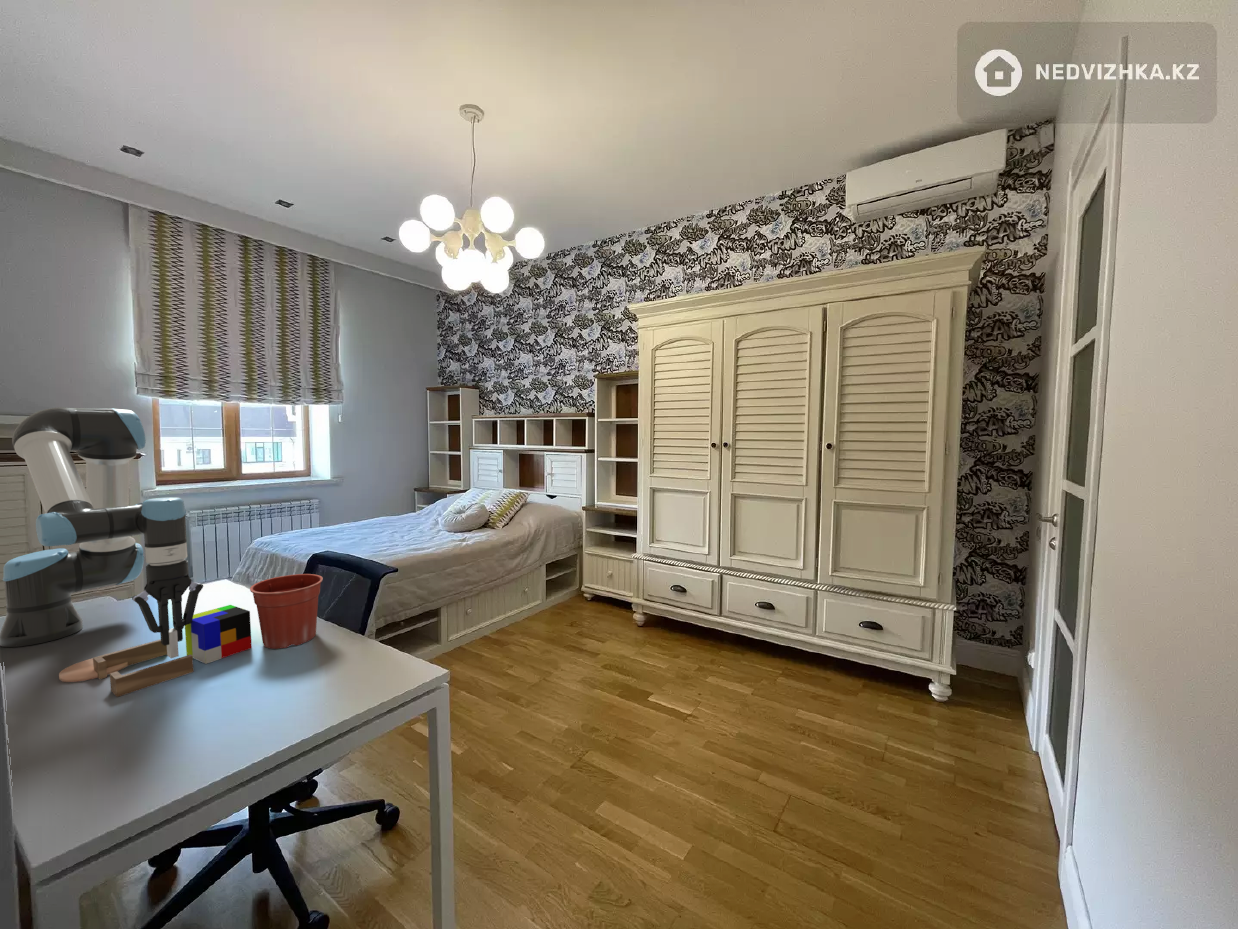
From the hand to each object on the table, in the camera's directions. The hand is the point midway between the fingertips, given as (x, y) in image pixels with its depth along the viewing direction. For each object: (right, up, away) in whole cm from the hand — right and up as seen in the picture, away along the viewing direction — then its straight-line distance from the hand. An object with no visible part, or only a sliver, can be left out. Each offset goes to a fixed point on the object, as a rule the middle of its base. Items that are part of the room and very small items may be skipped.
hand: (172, 655), depth 119 cm
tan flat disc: (-16, -2, -2) cm, 17 cm away
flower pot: (+19, -1, +14) cm, 24 cm away
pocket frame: (-3, -2, -4) cm, 6 cm away
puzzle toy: (+6, -2, +7) cm, 9 cm away
